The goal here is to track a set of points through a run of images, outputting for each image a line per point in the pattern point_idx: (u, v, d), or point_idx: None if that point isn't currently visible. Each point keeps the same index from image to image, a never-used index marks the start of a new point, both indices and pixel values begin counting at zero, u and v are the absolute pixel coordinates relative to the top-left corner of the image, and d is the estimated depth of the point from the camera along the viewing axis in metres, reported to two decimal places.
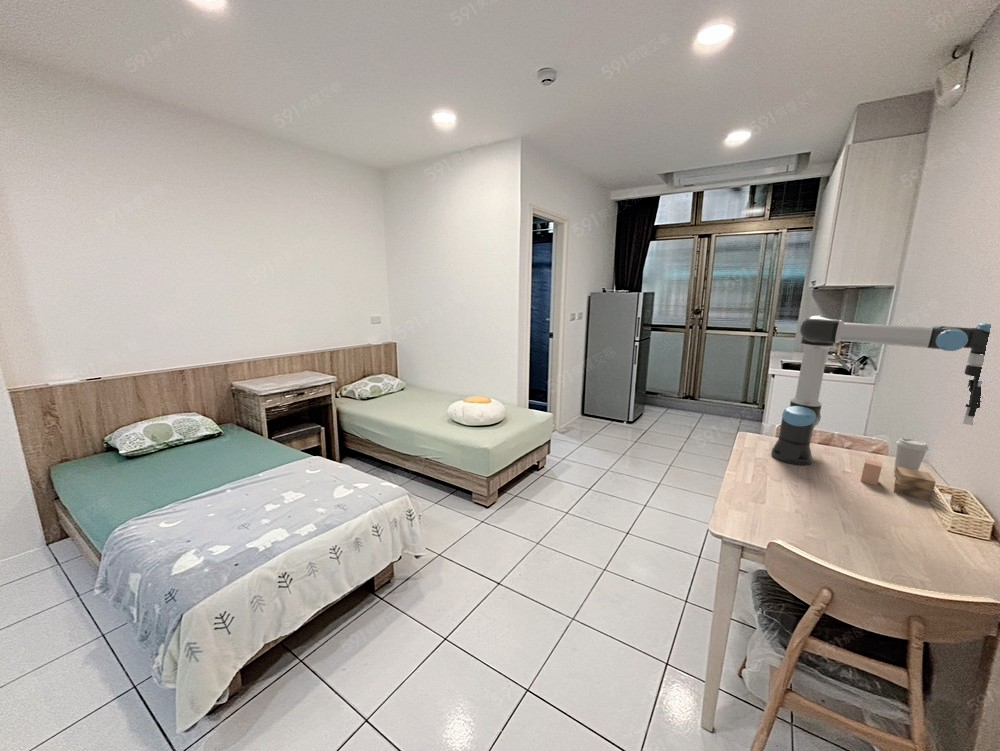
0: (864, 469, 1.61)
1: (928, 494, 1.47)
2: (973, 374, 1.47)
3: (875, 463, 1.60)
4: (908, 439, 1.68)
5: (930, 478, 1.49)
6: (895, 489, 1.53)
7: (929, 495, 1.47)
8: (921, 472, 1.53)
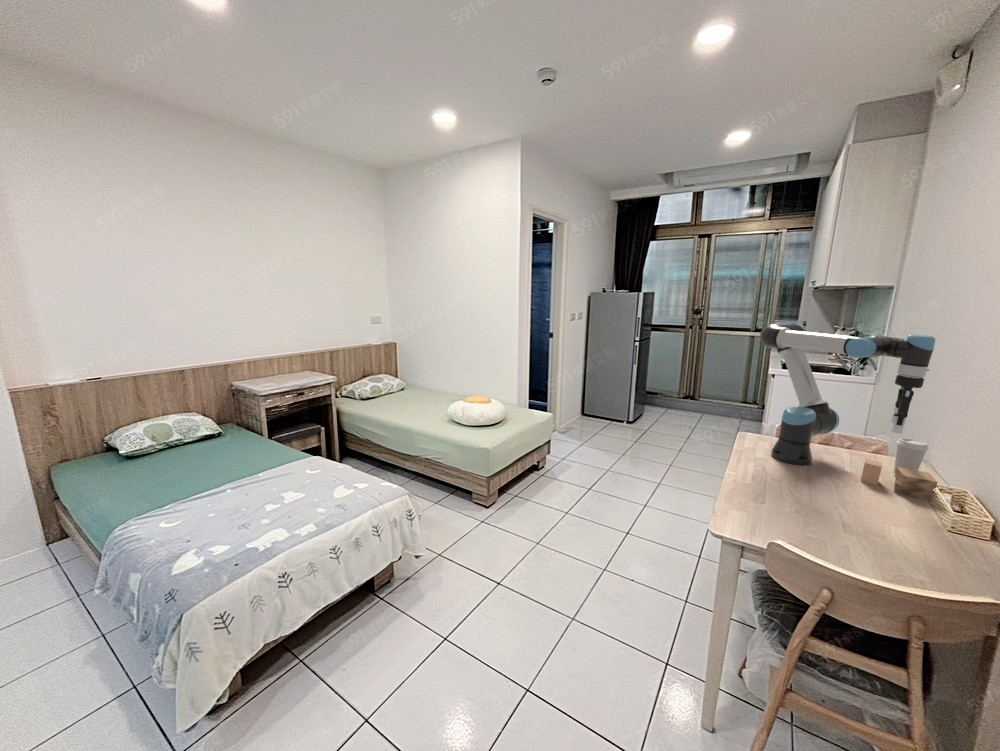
0: (864, 469, 1.61)
1: (928, 494, 1.47)
2: (902, 384, 1.51)
3: (875, 463, 1.60)
4: (908, 439, 1.68)
5: (932, 478, 1.49)
6: (895, 489, 1.53)
7: (929, 495, 1.47)
8: (921, 472, 1.53)
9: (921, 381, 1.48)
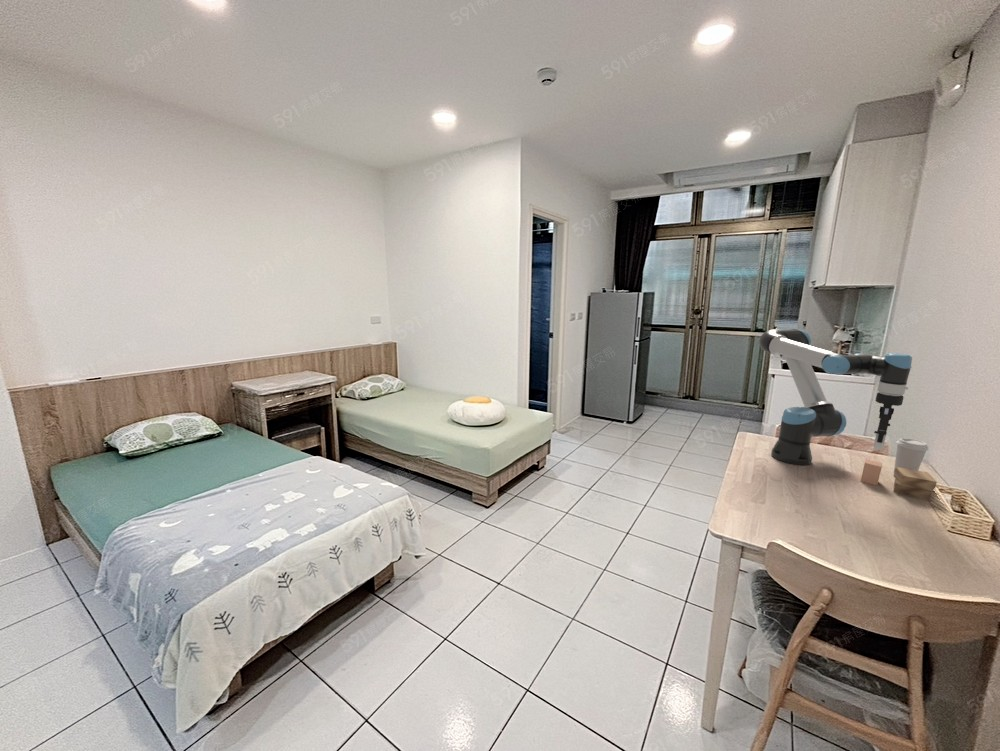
0: (864, 469, 1.61)
1: (928, 493, 1.47)
2: (881, 402, 1.54)
3: (875, 463, 1.60)
4: (908, 439, 1.68)
5: (931, 478, 1.49)
6: (895, 489, 1.54)
7: (929, 495, 1.47)
8: (920, 472, 1.54)
9: (900, 399, 1.51)
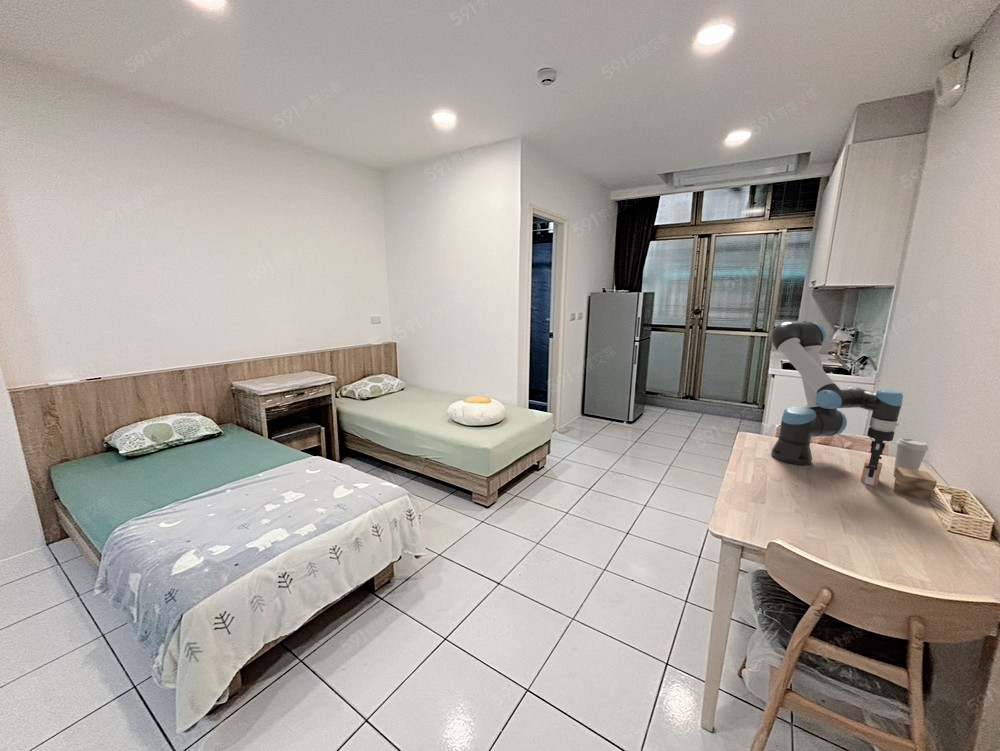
0: (864, 469, 1.61)
1: (928, 493, 1.47)
2: (873, 437, 1.57)
3: None
4: (908, 439, 1.68)
5: (931, 477, 1.49)
6: (895, 489, 1.54)
7: (929, 495, 1.47)
8: (920, 472, 1.54)
9: (891, 435, 1.54)
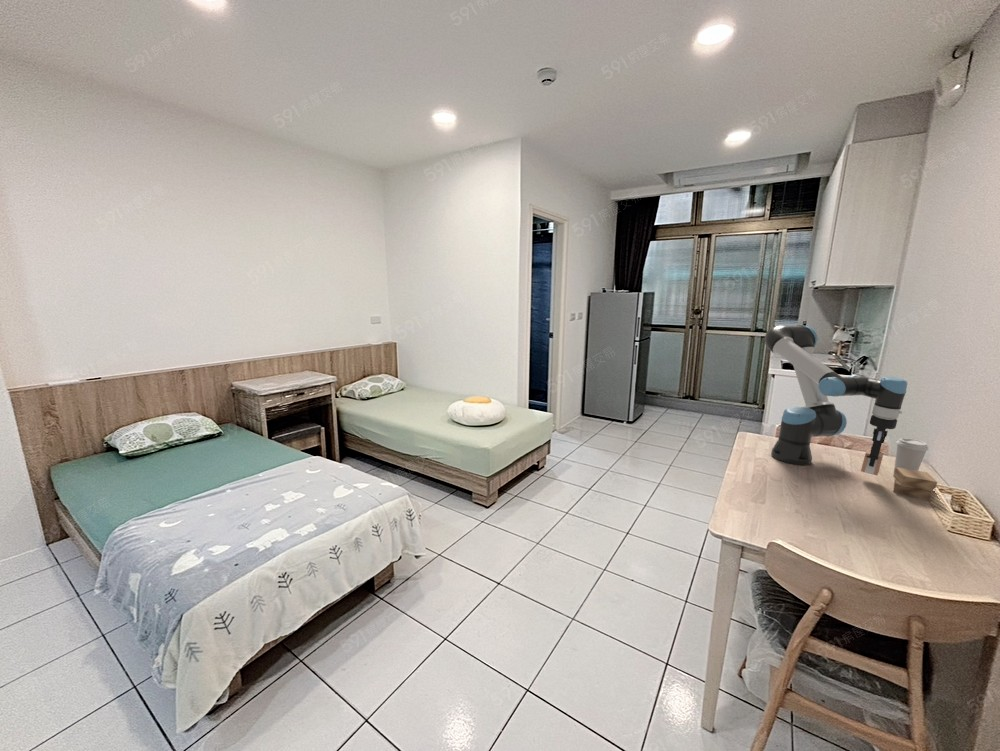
0: (865, 459, 1.61)
1: (928, 494, 1.47)
2: (875, 425, 1.56)
3: None
4: (908, 439, 1.68)
5: (931, 478, 1.49)
6: (895, 489, 1.54)
7: (929, 495, 1.47)
8: (920, 472, 1.54)
9: (894, 423, 1.53)
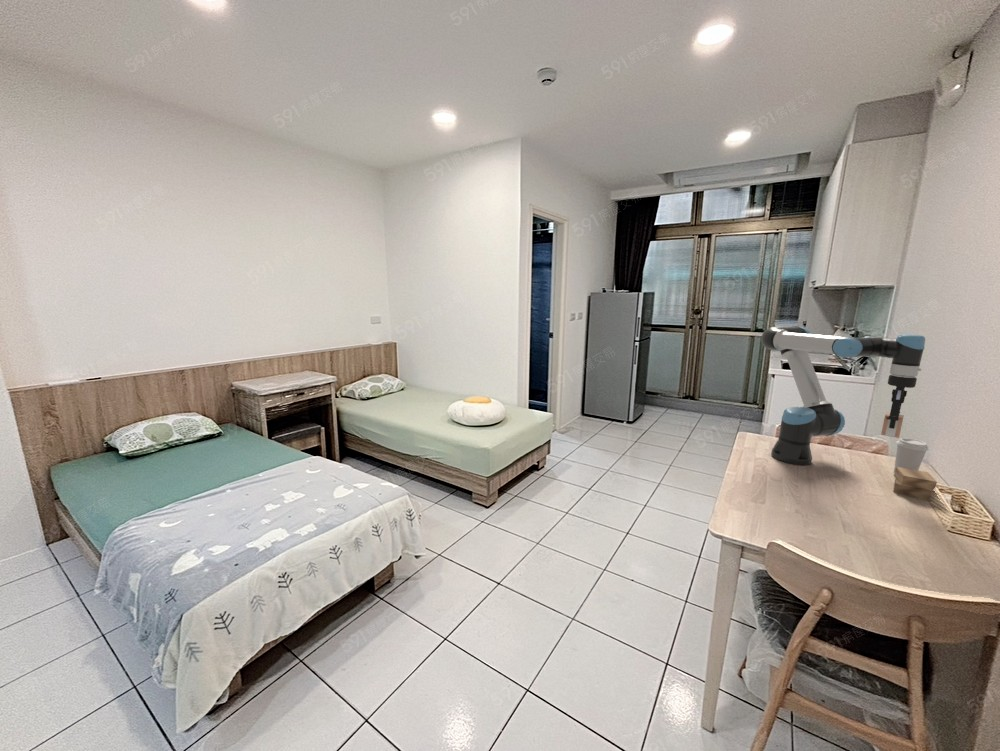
0: (884, 422, 1.54)
1: (928, 494, 1.47)
2: (894, 384, 1.50)
3: None
4: (908, 439, 1.68)
5: (931, 478, 1.49)
6: (895, 489, 1.54)
7: (929, 495, 1.47)
8: (921, 472, 1.54)
9: (913, 381, 1.47)
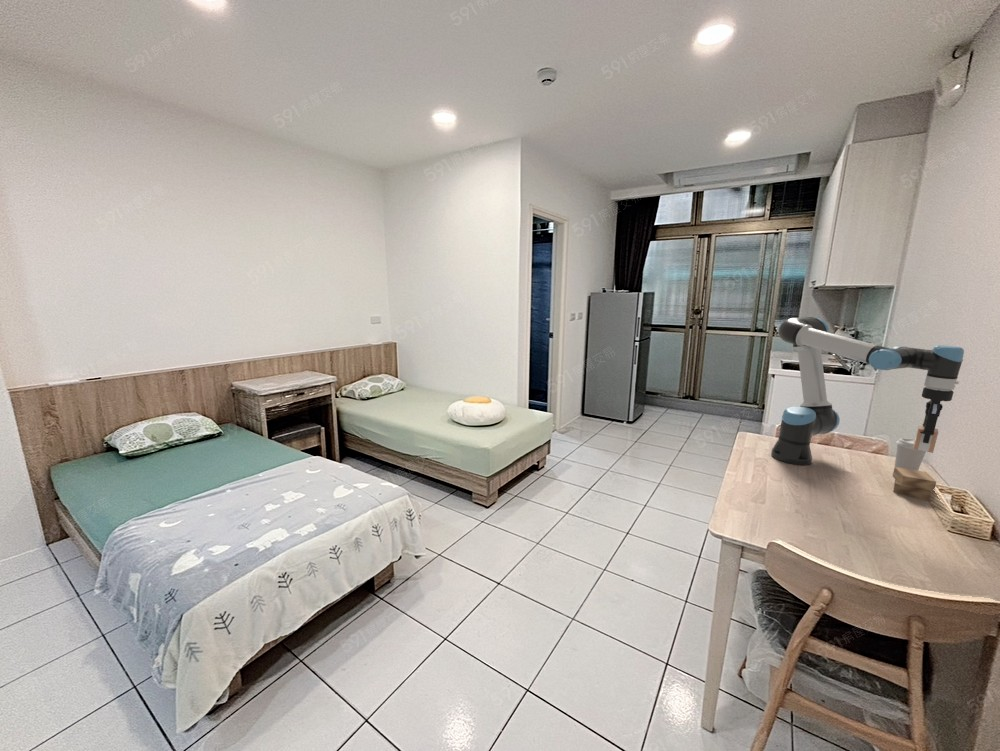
0: (918, 436, 1.48)
1: (928, 494, 1.47)
2: (929, 397, 1.44)
3: None
4: (908, 439, 1.68)
5: (930, 478, 1.49)
6: (895, 489, 1.54)
7: (929, 495, 1.47)
8: (919, 472, 1.54)
9: (950, 394, 1.41)
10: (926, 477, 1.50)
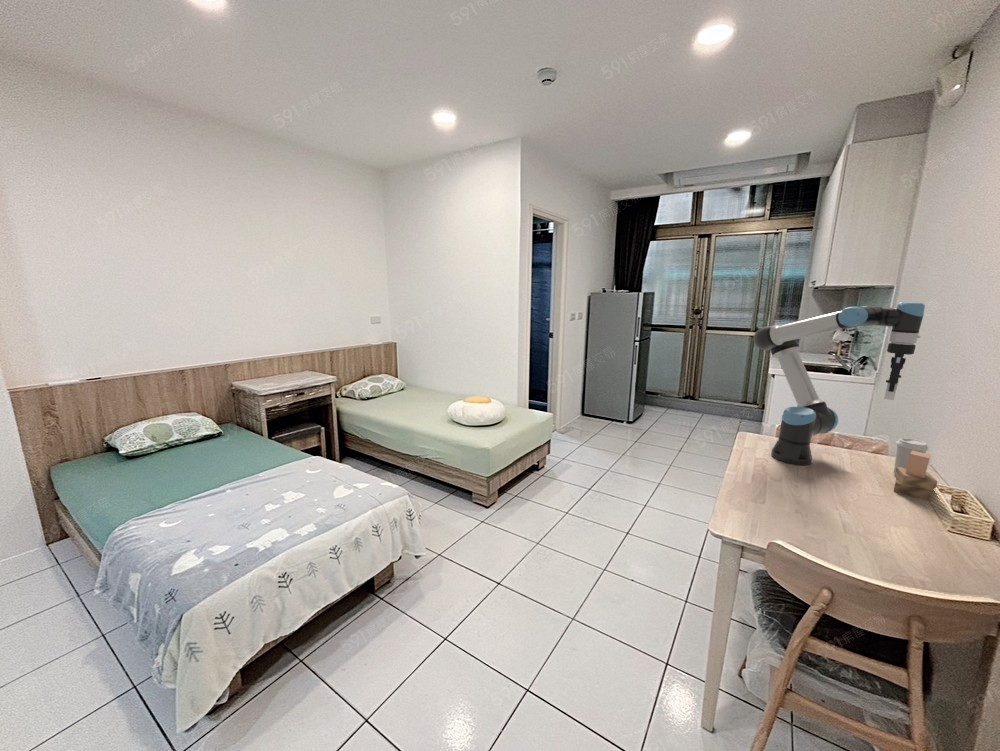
0: (910, 460, 1.51)
1: (928, 493, 1.47)
2: (893, 351, 1.54)
3: (922, 454, 1.50)
4: (908, 439, 1.68)
5: (931, 477, 1.49)
6: (895, 488, 1.54)
7: (929, 495, 1.47)
8: None
9: (912, 347, 1.51)
10: (927, 477, 1.50)
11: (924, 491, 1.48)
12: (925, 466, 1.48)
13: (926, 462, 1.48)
